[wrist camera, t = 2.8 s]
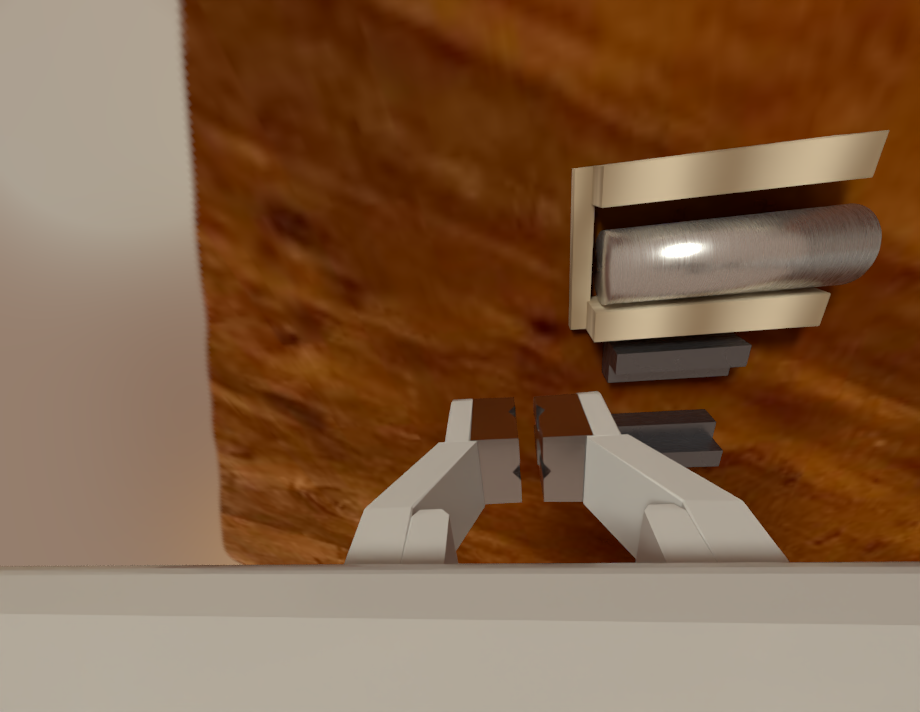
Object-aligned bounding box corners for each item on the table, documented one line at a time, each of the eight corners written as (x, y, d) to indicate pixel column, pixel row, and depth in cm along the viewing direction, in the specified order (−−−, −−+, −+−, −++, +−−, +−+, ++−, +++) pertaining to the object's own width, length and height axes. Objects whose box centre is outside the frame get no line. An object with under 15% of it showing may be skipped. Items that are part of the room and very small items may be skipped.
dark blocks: (723, 326, 25) (751, 345, 22) (697, 439, 30) (718, 466, 27) (604, 335, 26) (617, 354, 23) (596, 443, 30) (606, 469, 28)
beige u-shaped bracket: (835, 135, 20) (889, 130, 17) (782, 308, 24) (819, 325, 22) (572, 168, 21) (584, 168, 19) (568, 325, 26) (578, 343, 23)
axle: (834, 191, 21) (901, 223, 17) (796, 261, 24) (847, 300, 20) (598, 218, 22) (618, 252, 19) (590, 280, 25) (606, 319, 22)
